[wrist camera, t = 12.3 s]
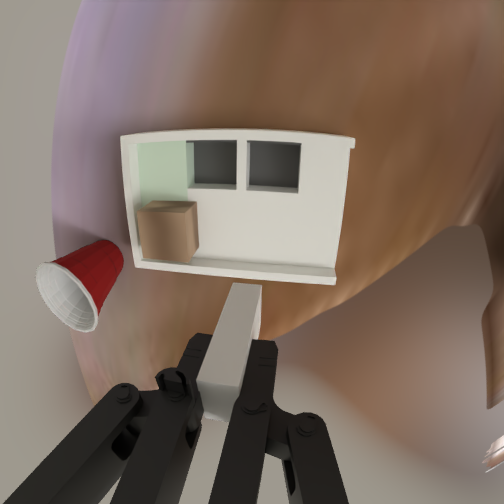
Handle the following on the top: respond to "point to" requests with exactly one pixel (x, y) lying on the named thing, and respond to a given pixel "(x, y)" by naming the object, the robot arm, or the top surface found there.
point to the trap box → (245, 198)
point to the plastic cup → (80, 283)
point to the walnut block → (169, 230)
